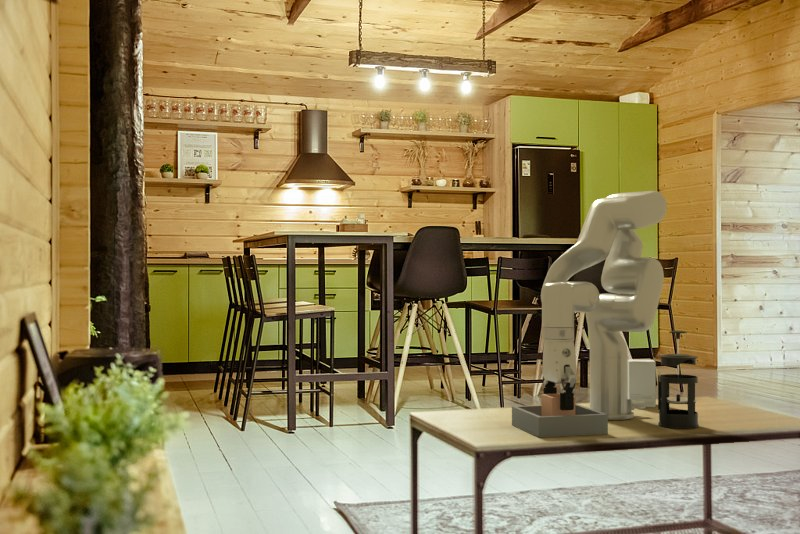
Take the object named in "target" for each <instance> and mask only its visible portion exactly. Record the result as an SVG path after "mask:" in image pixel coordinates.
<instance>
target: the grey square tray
mask: <svg viewBox="0 0 800 534" xmlns="http://www.w3.org/2000/svg"><path fill="white" fill-rule="evenodd" d="M511 426H513V427H515V428H518V429H520V430H522V431H525V432H527V433H529V434H530V433H531V435H532V434H533V436H535V437H537V438H550V437H551V438H553V437H554V438H555V437H571V436H572V437H573V436H594V435H595V436H596V435H597V436H598V435H608V434H609V420H608V414H605V413H602V412H599V411H596V410H593V409H590V407H587V406H583V405H581V404H578V403H575V415H565V416H542V404H540V405H539V404H537V405H517V406H516V405H514V406H511Z"/></svg>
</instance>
